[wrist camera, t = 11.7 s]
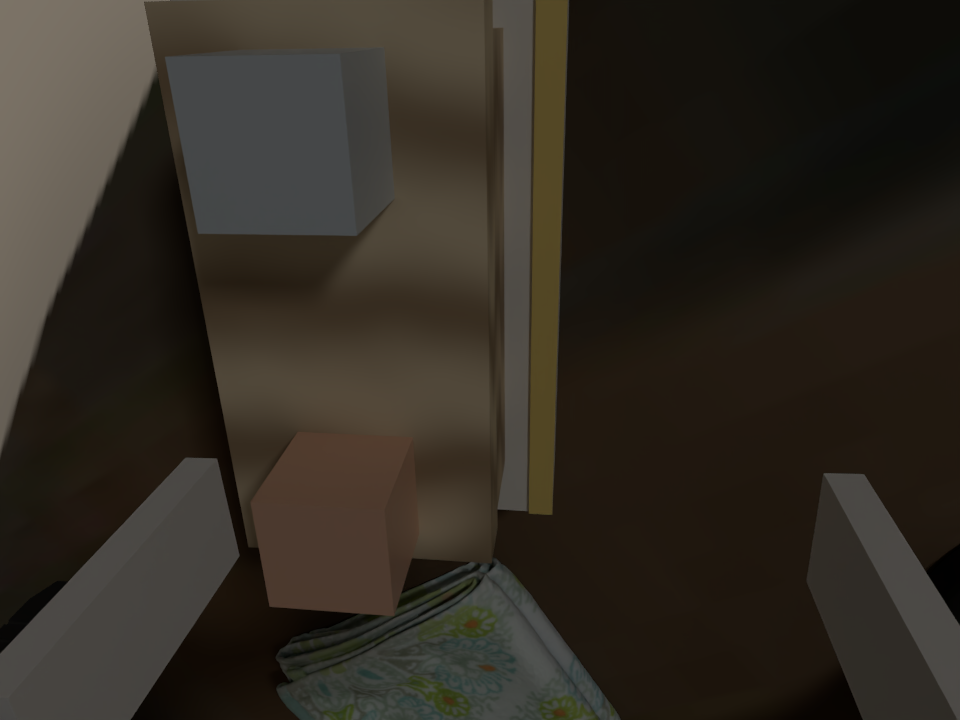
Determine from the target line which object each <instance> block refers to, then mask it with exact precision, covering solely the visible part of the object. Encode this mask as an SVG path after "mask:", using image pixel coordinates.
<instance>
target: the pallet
mask: <svg viewBox="0 0 960 720" xmlns="http://www.w3.org/2000/svg"><path fill="white" fill-rule="evenodd" d="M144 3H145V9H146V14H147V19H148V25H149V30H150V35H151V41H152V46H153V51H154V56H155V62H156V67H157V72H158V77H159V82H160V88H161V93H162V98H163V103H164V109H165V114H166V119H167V124H168V129H169V135H170V140H171V145H172V150H173V155H174V161H175V166H176V171H177V176H178V182H179V187H180V192H181V197H182V202H183V208H184V213H185V218H186V223H187V229H188V234H189V239H190V244H191V249H192V255H193V260H194V265H195V270H196V276H197V281H198V286H199V291H200V296H201V302H202V307H203V312H204V317H205V323H206V328H207V333H208V338H209V343H210V349H211V354H212V359H213V364H214V370H215V375H216V380H217V385H218V390H219V396H220V401H221V406H222V411H223V416H224V422H225V427H226V432H227V437H228V443H229V448H230V453H231V458H232V463H233V469H234V474H235V479H236V484H237V490H238V495H239V500H240V505H241V510H242V516H243V521H244V526H245V531H246V537H247V542H248V547H255V548H259V546H258V541H257V535H256V530H255V525H254V519H253V514H252V508H251V503H250V502H251V500H252V499H253V497H254V496H255V494H256V493H257V491H258V490H259V488H260V487H261V485H262V484H263V482H264V481H265V480H266V478H267V477H268V475H269V474H270V472H271V471H272V469H273V468H274V466H275V465H276V463H277V462H278V460H279V459H280V457H281V456H282V454H283V453H284V451H285V450H286V448H287V447H288V445H289V444H290V442H291V441H292V439H293V438H294V437H295V435H296V434H297V432H313V433H334V434H355V435H376V436H397V437H413V445H414V460H415V475H416V490H417V505H418V520H419V536H418V540H417V543H416V546H415V550H414V553H413V556H412V558H418V559H433V560H448V561H462V562H477V563H492V559H493V552H494V546H495V539H496V533H497V508H498V502H499V496H500V489H501V483H502V477H503V471H504V465H505V323H504V45H503V28H493V0H201V1H159V2H144ZM371 47H384V51H385V66H386V80H387V95H388V109H389V123H390V138H391V152H392V167H393V181H394V195H395V199H394V200H393V201H392V202H391V203H390V204H389V205H388V206H387V207H386V208H385V209H384V210H383V211H381V212H380V213H379V214H378V215H377V216H376V217H375V218H374V219H373V220H372V221H371V222H370V223H369V224H368V225H367V226H366V227H365V228H364V229H363V230H362V231H361V232H360V233H359V234H358V235H357V236H337V235H261V234H198V231H197V226H196V220H195V215H194V210H193V204H192V199H191V194H190V188H189V183H188V178H187V172H186V167H185V162H184V156H183V151H182V146H181V140H180V135H179V130H178V124H177V119H176V114H175V109H174V103H173V98H172V93H171V87H170V82H169V77H168V71H167V66H166V61H165V57H168V56H179V55H190V54H200V53H211V52H222V51H233V50H258V49H315V48H371Z"/></svg>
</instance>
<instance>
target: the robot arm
mask: <svg viewBox="0 0 960 720" xmlns="http://www.w3.org/2000/svg"><path fill="white" fill-rule="evenodd" d="M238 557H239V551H238V547H237V543H236V538H235V534H234V530H233V525H232V521H231V517H230V512H229V508H228V504H227V499H226V495H225V491H224V487H223V482H222V478H221V474H220V469H219V465H218V461H217V459H213V458H185V459H184V460H183V461H182V462H181V463H180V464H179V466H178V467H177V468H176V469H175V470H174V471H173V472H172V473H171V474H170V475H169V476H168V477H167V478H166V479H165V480H164V481H163V482H162V483H161V485H160V486H159V487H158V488H157V489H156V490H155V491H154V492H153V493H152V494H151V495H150V496H149V497H148V498H147V499H146V500H145V501H144V502H143V504H142V505H141V506H140V507H139V508H138V509H137V510H136V511H135V512H134V513H133V514H132V515H131V516H130V517H129V518H128V519H127V520H126V521H125V523H124V524H123V525H122V526H121V527H120V528H119V529H118V530H117V531H116V532H115V533H114V534H113V535H112V536H111V537H110V538H109V539H108V540H107V541H106V543H105V544H104V545H103V546H102V547H101V548H100V549H99V550H98V551H97V552H96V553H95V554H94V555H93V556H92V557H91V558H90V559H89V560H88V562H87V563H86V564H85V565H84V566H83V567H82V568H81V569H80V570H79V571H78V572H77V573H76V574H75V575H74V576H73V577H72V578H71V579H70V581H69V582H65V581H57V582H55V583H54V584H52V585H50V586H49V587H47V588H46V589H44V590H43V591H41V592H40V593H38V594H37V595H35V596H33V597H32V598H30V599H29V600H28V601H27V602H26V603H25V604H24V605H23V606H22V607H21V608H20V609H19V610H18V611H17V612H16V613H15V614H14V615H13V616H12V617H11V618H10V619H9V622H8V624H7V625H5V624H4V625H3V626H2V627H1V628H0V720H131V718H132V717H133V715H134V714H135V712H136V711H137V709H138V708H139V706H140V705H141V703H142V702H143V700H144V699H145V697H146V696H147V694H148V693H149V691H150V690H151V688H152V687H153V685H154V684H155V682H156V681H157V679H158V678H159V676H160V675H161V673H162V672H163V670H164V669H165V667H166V666H167V664H168V663H169V661H170V660H171V658H172V657H173V655H174V654H175V652H176V651H177V649H178V648H179V646H180V645H181V643H182V642H183V640H184V639H185V637H186V636H187V634H188V633H189V631H190V630H191V628H192V627H193V625H194V624H195V622H196V621H197V619H198V617H199V616H200V614H201V613H202V611H203V610H204V608H205V607H206V605H207V604H208V602H209V601H210V599H211V598H212V596H213V595H214V593H215V592H216V590H217V589H218V587H219V586H220V584H221V583H222V581H223V580H224V578H225V577H226V575H227V574H228V572H229V571H230V569H231V568H232V566H233V565H234V563H235V562H236V560H237V559H238ZM807 583H808V586H809V588H810V591H811V593H812V596H813V598H814V601H815V603H816V605H817V608H818V610H819V613H820V615H821V618H822V620H823V623H824V625H825V628H826V630H827V633H828V635H829V638H830V640H831V642H832V645H833V647H834V650H835V652H836V655H837V657H838V660H839V662H840V665H841V667H842V670H843V672H844V675H845V677H846V680H847V682H848V684H849V687H850V689H851V692H852V694H853V697H854V699H855V702H856V704H857V707H858V709H859V712H860V714H861V717H862V719H863V720H960V548H959V549H957V550H956V551H954V552H953V553H952V554H950V555H949V556H948V557H947V558H946V559H944V560H943V561H942V562H941V563H940V564H939V565H938V566H937V567H936V568H935V569H934V570H933V571H932V572H931V573H930V575H929V576H928V575H927V573H926V572H925V570H924V568H923V567H922V565H921V564H920V562H919V560H918V559H917V557H916V556H915V554H914V553H913V551H912V549H911V548H910V546H909V545H908V543H907V542H906V540H905V538H904V537H903V535H902V534H901V532H900V531H899V529H898V527H897V526H896V524H895V523H894V521H893V519H892V518H891V516H890V515H889V513H888V512H887V510H886V508H885V507H884V505H883V504H882V502H881V501H880V499H879V497H878V496H877V494H876V493H875V491H874V490H873V488H872V486H871V485H870V483H869V482H868V480H867V478H866V477H865V475H864V474H833V473H824V474H823V480H822V487H821V493H820V499H819V506H818V512H817V518H816V525H815V531H814V537H813V544H812V550H811V556H810V563H809V569H808V575H807Z"/></svg>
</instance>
